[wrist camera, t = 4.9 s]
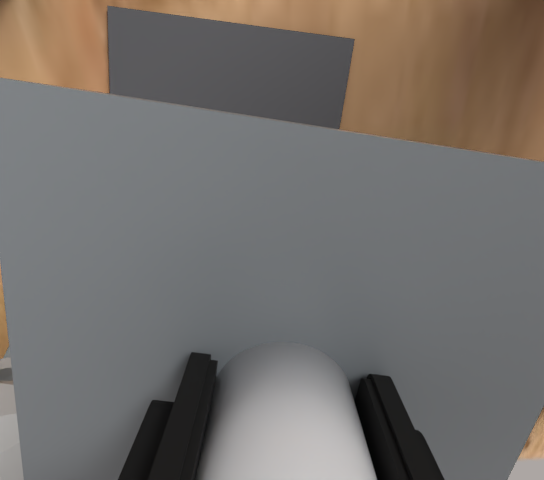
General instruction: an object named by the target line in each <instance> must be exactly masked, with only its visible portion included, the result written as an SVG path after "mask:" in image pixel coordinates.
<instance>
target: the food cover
mask: <svg viewBox="0 0 544 480" xmlns="http://www.w3.org/2000/svg"><path fill="white" fill-rule="evenodd" d="M0 264H1V274H2V283H3V292H4V301H5V311H6V320H7V329H8V338H9V348H10V357H11V366H12V375H13V385H14V394H15V403H16V412H17V422H18V431H19V440H20V450H21V459H22V468H23V477H24V480H118V478H119V476H120V473H121V471H122V469H123V466H124V464H125V462H126V459H127V457H128V454H129V452H130V450H131V447H132V445H133V443H134V440H135V438H136V436H137V433H138V431H139V428H140V426H141V424H142V421H143V419H144V417H145V414H146V412H147V409H148V407H149V405H150V403H151V401H152V400H160V401H169V402H174V401H175V398H176V395H177V392H178V389H179V386H180V384H181V381H182V378H183V375H184V372H185V369H186V366H187V363H188V360H189V357H190V354H191V352H196V353H204V354H211V360H216V361H218V365H217V374H216V382H215V387H214V392H213V397H212V402H211V406H210V411H209V416H208V421H207V426H206V430H205V435H204V440H203V445H202V449H201V454H200V459H199V464H198V469H197V473H196V478H195V480H377V477H376V473H375V470H374V467H373V463H372V460H371V456H370V453H369V450H368V446H367V443H366V439H365V436H364V432H363V429H362V426H361V422H360V419H359V415H358V412H357V409H356V405H355V402H354V401H355V398H356V394H357V391H358V387H359V383H360V381H361V379H362V378H367V376H368V375H369V374H377V375H385V376H390V377H391V379H392V381H393V383H394V385H395V387H396V389H397V391H398V394H399V396H400V398H401V400H402V402H403V404H404V407H405V409H406V411H407V413H408V415H409V417H410V420H411V422H412V424H413V426H414V428H415V430H419V431H420V432H421V433H422V434H423V436H424V438H425V440H426V442H427V444H428V446H429V448H430V450H431V452H432V454H433V456H434V458H435V460H436V463H437V465H438V467H439V469H440V471H441V473H442V475H443V477H444V479H445V480H507V479H508V477H509V475H510V473H511V471H512V469H513V467H514V465H515V463H516V461H517V459H518V457H519V455H520V453H521V451H522V449H523V447H524V445H525V443H526V441H527V439H528V437H529V435H530V433H531V431H532V429H533V427H534V425H535V423H536V421H537V419H538V417H539V415H540V413H541V411H542V409H543V407H544V161H538V160H531V159H525V158H519V157H513V156H507V155H501V154H495V153H488V152H482V151H475V150H469V149H462V148H456V147H449V146H443V145H437V144H430V143H424V142H417V141H411V140H404V139H398V138H392V137H385V136H379V135H372V134H366V133H359V132H353V131H347V130H340V129H334V128H327V127H321V126H314V125H308V124H302V123H295V122H289V121H282V120H276V119H269V118H263V117H257V116H250V115H244V114H237V113H231V112H224V111H218V110H212V109H205V108H199V107H192V106H186V105H179V104H173V103H167V102H160V101H154V100H147V99H141V98H134V97H128V96H122V95H115V94H109V93H102V92H95V91H88V90H81V89H74V88H67V87H61V86H54V85H47V84H40V83H33V82H26V81H19V80H12V79H5V78H0Z"/></svg>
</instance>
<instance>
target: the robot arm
mask: <svg viewBox="0 0 544 480" xmlns="http://www.w3.org/2000/svg"><path fill="white" fill-rule="evenodd" d="M217 365H218V361H216V360H211V354H204V353H196V352H191V354H190V357H189V360H188V363H187V366H186V369H185V372H184V375H183V378H182V381H181V384H180V386H179V389H178V392H177V395H176V398H175V401H174V402H169V401H160V400H152V401H151V403H150V405H149V407H148V409H147V412H146V414H145V417H144V419H143V421H142V424H141V426H140V428H139V431H138V433H137V436H136V438H135V440H134V443H133V445H132V447H131V450H130V452H129V454H128V457H127V459H126V462H125V464H124V466H123V469H122V471H121V473H120V476H119V478H118V480H195V478H196V473H197V469H198V464H199V459H200V454H201V449H202V445H203V440H204V435H205V430H206V426H207V421H208V416H209V411H210V406H211V402H212V397H213V392H214V387H215V382H216V374H217ZM354 402H355V405H356V409H357V412H358V415H359V419H360V422H361V426H362V429H363V432H364V436H365V439H366V443H367V446H368V450H369V453H370V456H371V460H372V463H373V467H374V470H375V473H376V477H377V480H445V479H444V477H443V475H442V473H441V471H440V469H439V467H438V465H437V463H436V460H435V458H434V456H433V454H432V452H431V450H430V448H429V446H428V444H427V442H426V440H425V438H424V436H423V434H422V433H421V432H420V431H419V430H415V428H414V426H413V424H412V422H411V420H410V417H409V415H408V413H407V411H406V409H405V407H404V404H403V402H402V400H401V398H400V396H399V394H398V391H397V389H396V387H395V385H394V383H393V381H392V379H391V377H390V376H385V375H377V374H369V375H368V376H367V378H362V379H361V381H360V383H359V387H358V391H357V394H356V398H355V401H354Z"/></svg>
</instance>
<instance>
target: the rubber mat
mask: <svg viewBox="0 0 544 480" xmlns="http://www.w3.org/2000/svg"><path fill="white" fill-rule="evenodd" d="M107 7H108V43H109V80H110V94H115V95H122V96H128V97H134V98H141V99H147V100H154V101H160V102H167V103H173V104H179V105H186V106H192V107H199V108H205V109H212V110H218V111H224V112H231V113H237V114H244V115H250V116H257V117H263V118H269V119H276V120H282V121H289V122H295V123H302V124H308V125H314V126H321V127H327V128H334V129H339V128H340V122H341V116H342V110H343V104H344V99H345V93H346V87H347V81H348V75H349V69H350V63H351V58H352V52H353V46H354V40H355V39H350V38H342V37H335V36H327V35H320V34H312V33H305V32H298V31H290V30H283V29H275V28H268V27H260V26H253V25H246V24H238V23H231V22H223V21H216V20H208V19H201V18H194V17H186V16H179V15H171V14H164V13H156V12H149V11H142V10H134V9H127V8H119V7H112V6H107Z"/></svg>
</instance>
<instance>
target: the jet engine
mask: <svg viewBox="0 0 544 480" xmlns="http://www.w3.org/2000/svg"><path fill="white" fill-rule="evenodd" d="M0 480H24V477H23V468H22V459H21V450H20V440H19V431H18V422H17V412H16V403H15V394H14V385H13V375H12V366H11V357H10V348H8V350H7V352H6V354H5V356H4V358H3V359H0Z"/></svg>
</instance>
